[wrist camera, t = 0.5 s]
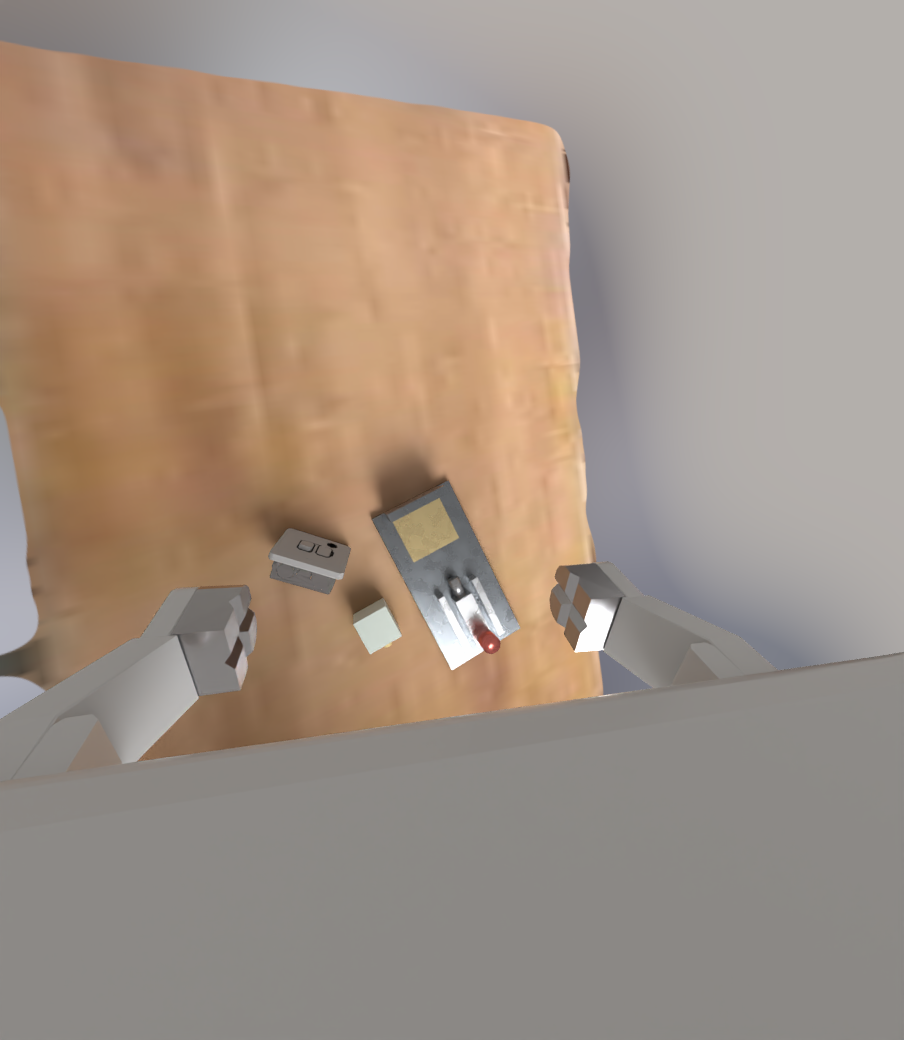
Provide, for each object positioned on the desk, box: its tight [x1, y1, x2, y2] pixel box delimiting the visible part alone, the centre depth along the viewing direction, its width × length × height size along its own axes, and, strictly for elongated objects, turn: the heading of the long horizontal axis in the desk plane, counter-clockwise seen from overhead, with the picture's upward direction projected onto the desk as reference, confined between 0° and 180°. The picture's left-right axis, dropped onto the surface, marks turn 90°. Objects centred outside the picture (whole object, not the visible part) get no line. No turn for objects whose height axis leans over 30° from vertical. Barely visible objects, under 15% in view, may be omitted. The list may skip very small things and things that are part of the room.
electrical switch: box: [268, 528, 351, 594], centre depth 53 cm, size 9×5×9 cm, turn 70°
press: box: [372, 481, 520, 670], centre depth 58 cm, size 27×13×7 cm, turn 27°
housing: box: [353, 598, 402, 654], centre depth 57 cm, size 6×5×5 cm
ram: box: [447, 576, 500, 654], centre depth 58 cm, size 11×3×7 cm, turn 27°
